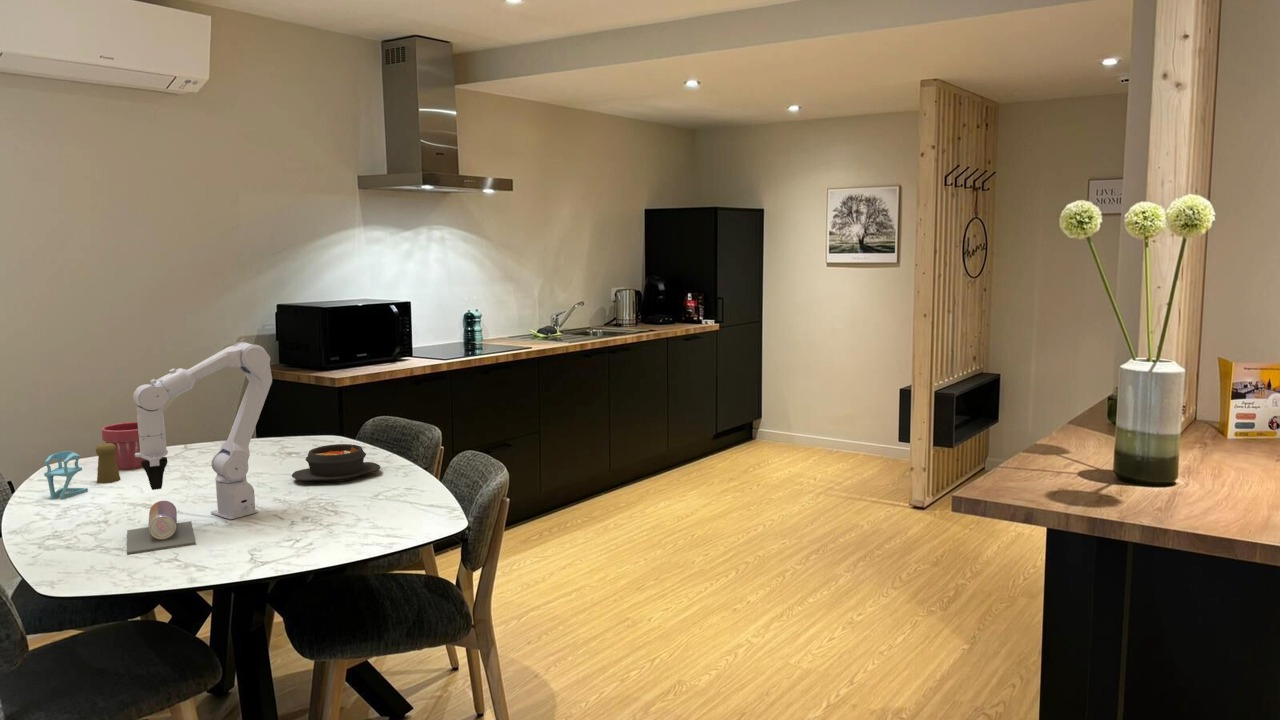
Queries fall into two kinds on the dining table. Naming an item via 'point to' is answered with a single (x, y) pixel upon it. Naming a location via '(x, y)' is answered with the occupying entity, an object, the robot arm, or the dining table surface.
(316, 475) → the casserole
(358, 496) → the dining table surface
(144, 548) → the mat
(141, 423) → the robot arm
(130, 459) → the plant pot
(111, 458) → the cork
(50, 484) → the chair
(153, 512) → the beverage can
